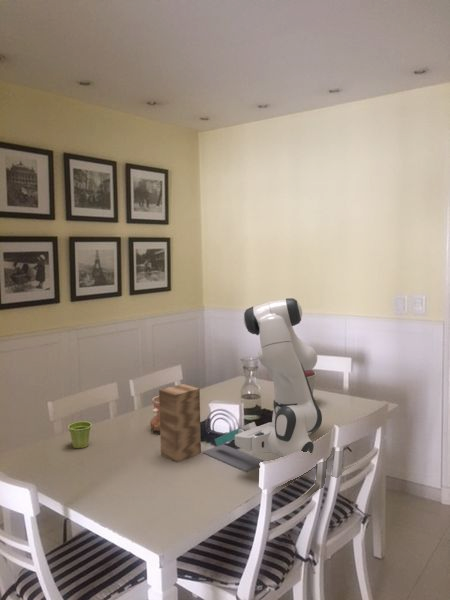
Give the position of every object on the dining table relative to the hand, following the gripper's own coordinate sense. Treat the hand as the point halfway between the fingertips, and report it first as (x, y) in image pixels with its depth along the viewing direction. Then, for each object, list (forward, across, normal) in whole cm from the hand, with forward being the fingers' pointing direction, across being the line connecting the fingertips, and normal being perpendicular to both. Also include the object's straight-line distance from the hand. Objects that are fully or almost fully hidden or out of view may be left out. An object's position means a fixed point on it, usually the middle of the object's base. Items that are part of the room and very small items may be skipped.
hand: (243, 429), depth 186 cm
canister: (+29, -69, +13) cm, 76 cm away
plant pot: (+59, +36, +13) cm, 70 cm away
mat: (+6, 0, +13) cm, 14 cm away
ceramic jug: (+49, -1, +13) cm, 51 cm away
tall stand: (+23, +12, +13) cm, 29 cm away
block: (+4, 0, +5) cm, 6 cm away
